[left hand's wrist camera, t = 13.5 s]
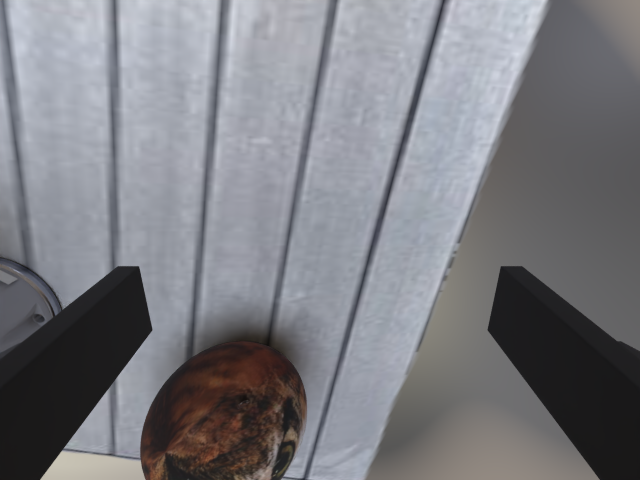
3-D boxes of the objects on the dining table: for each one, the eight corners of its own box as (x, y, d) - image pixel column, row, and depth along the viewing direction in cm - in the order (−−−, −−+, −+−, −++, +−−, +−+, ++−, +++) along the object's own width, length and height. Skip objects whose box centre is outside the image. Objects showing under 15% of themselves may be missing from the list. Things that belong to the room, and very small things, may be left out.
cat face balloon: (258, 491, 52) (132, 594, 34) (210, 383, 59) (85, 422, 41) (369, 416, 45) (283, 494, 28) (299, 304, 52) (197, 312, 35)
